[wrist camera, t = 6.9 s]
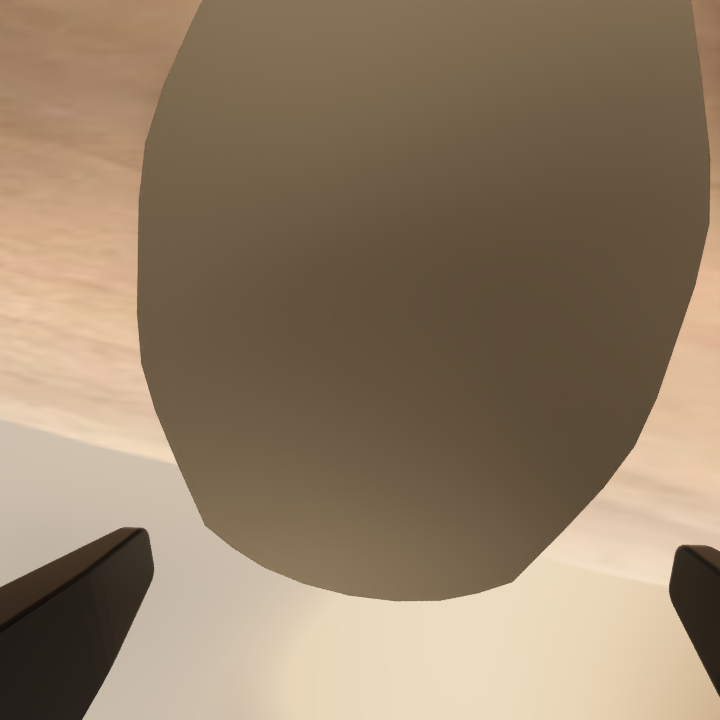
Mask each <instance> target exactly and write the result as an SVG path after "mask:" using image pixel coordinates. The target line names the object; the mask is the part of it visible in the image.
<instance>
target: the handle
mask: <svg viewBox="0 0 720 720" xmlns="http://www.w3.org/2000/svg"><path fill="white" fill-rule="evenodd" d="M709 210H710V153H709V143H708V134H707V125H706V115H705V106H704V97H703V87H702V78H701V71H700V64H699V56H698V49H697V42H696V34H695V27H694V20H693V12H692V5H691V0H202V2H201V4H200V6H199V8H198V10H197V12H196V15H195V17H194V19H193V21H192V23H191V26H190V28H189V30H188V32H187V35H186V37H185V39H184V41H183V43H182V46H181V48H180V50H179V52H178V55H177V57H176V59H175V61H174V63H173V66H172V68H171V70H170V72H169V75H168V77H167V79H166V81H165V84H164V86H163V89H162V93H161V96H160V99H159V102H158V105H157V108H156V111H155V114H154V117H153V121H152V124H151V127H150V130H149V133H148V136H147V139H146V142H145V151H144V160H143V169H142V177H141V186H140V195H139V220H138V286H137V318H138V330H139V341H140V353H141V364H142V367H143V371H144V374H145V377H146V381H147V384H148V388H149V391H150V394H151V398H152V401H153V405H154V408H155V411H156V414H157V416H158V418H159V421H160V423H161V426H162V428H163V430H164V433H165V435H166V438H167V440H168V442H169V445H170V447H171V450H172V452H173V454H174V457H175V459H176V462H177V464H178V466H179V468H180V470H181V472H182V475H183V477H184V479H185V482H186V484H187V486H188V488H189V491H190V493H191V495H192V497H193V499H194V502H195V504H196V506H197V508H198V510H199V513H200V515H201V517H202V520H203V522H204V524H205V526H207V527H208V528H209V529H210V530H211V531H213V532H214V533H215V534H216V535H218V536H219V537H220V538H221V539H222V540H224V541H225V542H226V543H227V544H229V545H230V546H231V547H232V548H234V549H235V550H237V551H239V552H240V553H242V554H243V555H245V556H247V557H248V558H250V559H251V560H253V561H254V562H256V563H257V564H259V565H261V566H262V567H264V568H266V569H269V570H272V571H274V572H276V573H279V574H281V575H284V576H286V577H289V578H291V579H293V580H296V581H298V582H301V583H303V584H307V585H311V586H315V587H318V588H322V589H326V590H330V591H334V592H338V593H342V594H345V595H350V596H358V597H366V598H374V599H382V600H391V601H441V600H446V599H451V598H456V597H461V596H466V595H471V594H476V593H480V592H483V591H486V590H489V589H492V588H495V587H499V586H502V585H505V584H508V583H511V582H513V581H514V580H515V579H516V578H517V577H518V576H519V575H520V574H521V573H522V572H523V571H524V570H525V569H526V568H527V567H528V566H529V565H530V564H531V563H532V562H533V561H534V560H535V559H536V558H537V557H538V556H539V555H540V554H541V553H542V552H543V551H544V550H545V549H546V548H547V547H548V546H549V545H550V544H551V543H552V542H553V541H554V540H555V539H556V538H557V537H558V536H559V535H560V534H561V533H562V532H563V531H564V529H565V528H566V527H567V526H568V525H569V524H570V523H571V522H572V521H573V520H574V519H575V518H576V517H577V516H578V515H579V513H580V512H581V511H582V510H583V509H584V508H585V507H586V506H587V505H588V504H589V503H590V502H591V501H592V500H593V499H594V497H595V496H596V495H597V494H598V493H599V492H600V491H601V490H602V489H603V488H604V487H605V485H606V484H607V483H608V481H609V480H610V479H611V477H612V476H613V474H614V473H615V472H616V470H617V469H618V468H619V466H620V465H621V464H622V462H623V461H624V460H625V458H626V457H627V456H628V454H629V453H630V452H631V450H632V449H633V448H634V446H635V444H636V442H637V440H638V438H639V436H640V433H641V431H642V429H643V427H644V425H645V423H646V420H647V418H648V416H649V414H650V412H651V410H652V407H653V405H654V403H655V401H656V399H657V396H658V393H659V390H660V387H661V384H662V381H663V378H664V376H665V373H666V370H667V367H668V364H669V361H670V358H671V355H672V352H673V349H674V346H675V343H676V340H677V337H678V334H679V331H680V329H681V326H682V323H683V320H684V317H685V314H686V311H687V308H688V305H689V302H690V299H691V296H692V293H693V290H694V287H695V284H696V280H697V275H698V271H699V267H700V262H701V258H702V253H703V249H704V245H705V240H706V236H707V232H708V227H709Z"/></svg>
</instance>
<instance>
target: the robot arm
mask: <svg viewBox="0 0 720 720" xmlns="http://www.w3.org/2000/svg"><path fill="white" fill-rule="evenodd" d="M153 573H154V563H153V557H152V551H151V545H150V539H149V534H148V532H147V530H146V529H144V528H133V527H123V528H120V529H118V530H116V531H114V532H112V533H109V534H108V535H105V536H103V537H101V538H99V539H97V540H95V541H93V542H91V543H89V544H87V545H85V546H83V547H81V548H79V549H77V550H75V551H73V552H71V553H69V554H67V555H65V556H63V557H61V558H59V559H57V560H55V561H53V562H51V563H48V564H46V565H44V566H43V567H41V568H38V569H36V570H34V571H32V572H30V573H28V574H26V575H24V576H22V577H20V578H18V579H16V580H14V581H12V582H10V583H8V584H6V585H4V586H2V587H0V720H82V719H83V717H84V715H85V714H86V712H87V710H88V708H89V706H90V705H91V703H92V701H93V700H94V698H95V696H96V695H97V693H98V691H99V689H100V688H101V686H102V684H103V682H104V680H105V678H106V677H107V675H108V673H109V671H110V669H111V667H112V665H113V663H114V661H115V659H116V657H117V655H118V653H119V651H120V649H121V646H122V644H123V642H124V640H125V638H126V636H127V633H128V631H129V629H130V627H131V625H132V623H133V620H134V618H135V616H136V614H137V612H138V610H139V608H140V605H141V603H142V601H143V599H144V597H145V595H146V592H147V590H148V588H149V586H150V584H151V581H152V578H153ZM669 593H670V598H671V601H672V604H673V606H674V608H675V610H676V612H677V614H678V616H679V618H680V620H681V622H682V624H683V626H684V628H685V630H686V632H687V634H688V636H689V638H690V640H691V642H692V644H693V645H694V648H695V650H696V651H697V653H698V656H699V658H700V660H701V661H702V663H703V665H704V667H705V669H706V671H707V673H708V675H709V677H710V679H711V681H712V683H713V685H714V687H715V689H716V691H717V693H718V695H719V697H720V551H718V550H716V549H714V548H712V547H710V546H705V545H681V546H679V547H678V548H677V550H676V552H675V557H674V562H673V567H672V573H671V578H670V584H669Z"/></svg>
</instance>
